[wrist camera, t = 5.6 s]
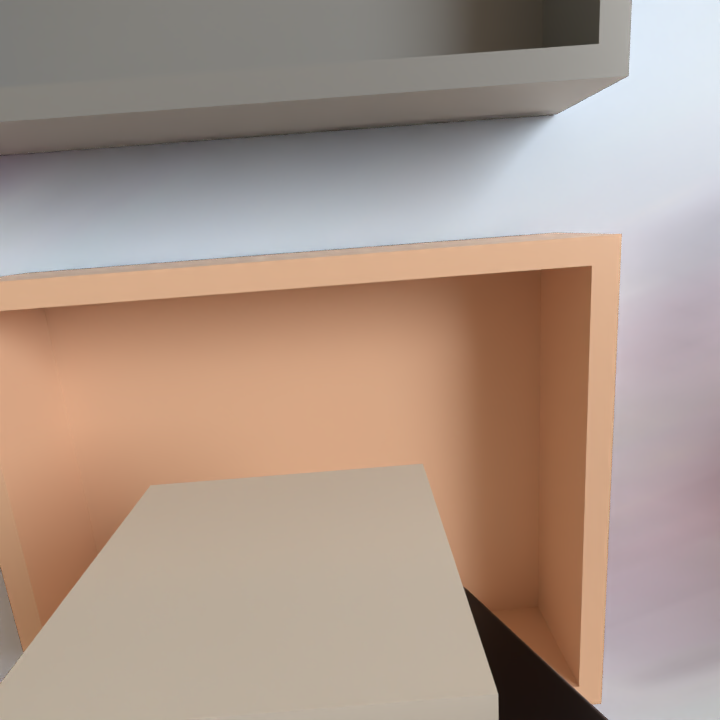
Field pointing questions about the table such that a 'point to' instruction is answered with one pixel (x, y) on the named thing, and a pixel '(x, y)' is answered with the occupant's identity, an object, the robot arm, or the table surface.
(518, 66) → the bin
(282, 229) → the table surface
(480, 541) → the bin
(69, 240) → the table surface
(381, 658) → the beige cube
